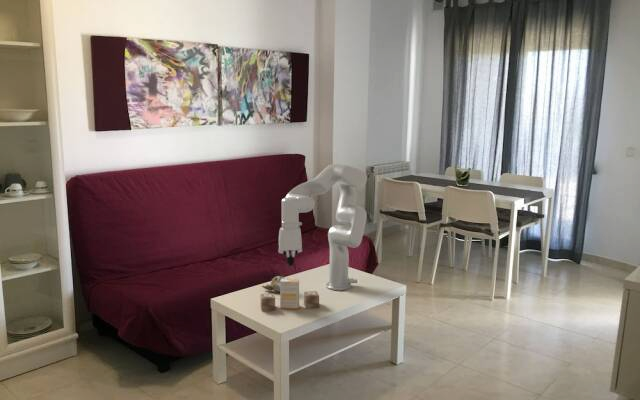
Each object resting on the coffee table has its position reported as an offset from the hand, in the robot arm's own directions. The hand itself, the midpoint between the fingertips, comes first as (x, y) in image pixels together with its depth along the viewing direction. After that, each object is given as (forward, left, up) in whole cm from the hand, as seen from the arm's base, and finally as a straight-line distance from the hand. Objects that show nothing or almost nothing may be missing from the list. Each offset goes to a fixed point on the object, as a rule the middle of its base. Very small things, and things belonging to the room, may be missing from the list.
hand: (290, 264), depth 244 cm
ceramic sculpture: (+3, -22, -20) cm, 30 cm away
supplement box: (0, 0, -20) cm, 20 cm away
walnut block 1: (+10, 0, -20) cm, 23 cm away
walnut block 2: (-10, 0, -20) cm, 22 cm away
